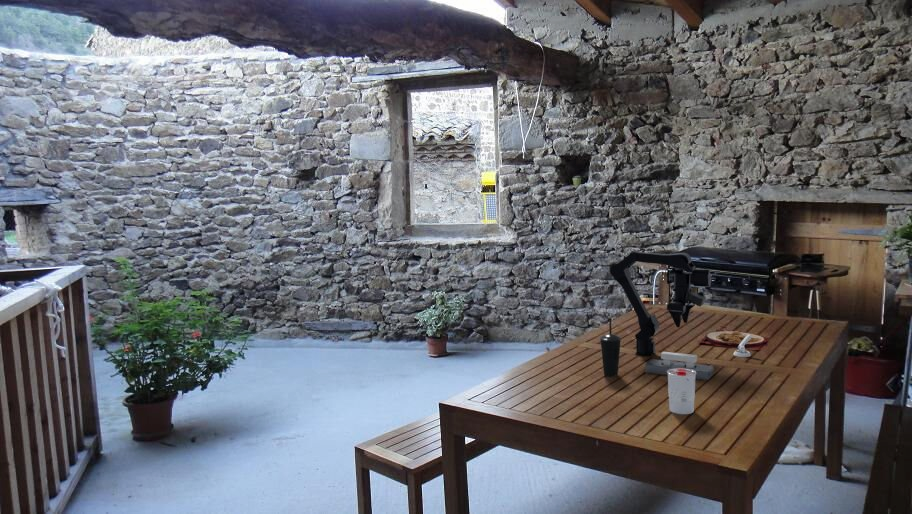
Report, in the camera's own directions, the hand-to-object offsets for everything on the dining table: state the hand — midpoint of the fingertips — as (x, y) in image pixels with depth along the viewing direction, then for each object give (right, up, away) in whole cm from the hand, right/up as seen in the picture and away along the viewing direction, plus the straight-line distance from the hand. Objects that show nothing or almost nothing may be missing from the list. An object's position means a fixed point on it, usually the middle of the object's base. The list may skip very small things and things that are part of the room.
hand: (681, 325), depth 260 cm
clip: (-8, -15, -20) cm, 26 cm away
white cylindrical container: (-20, -20, -58) cm, 65 cm away
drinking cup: (-32, -16, -18) cm, 40 cm away
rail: (-8, -15, -20) cm, 26 cm away
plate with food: (+32, -10, +24) cm, 41 cm away
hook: (+24, -12, +2) cm, 27 cm away
